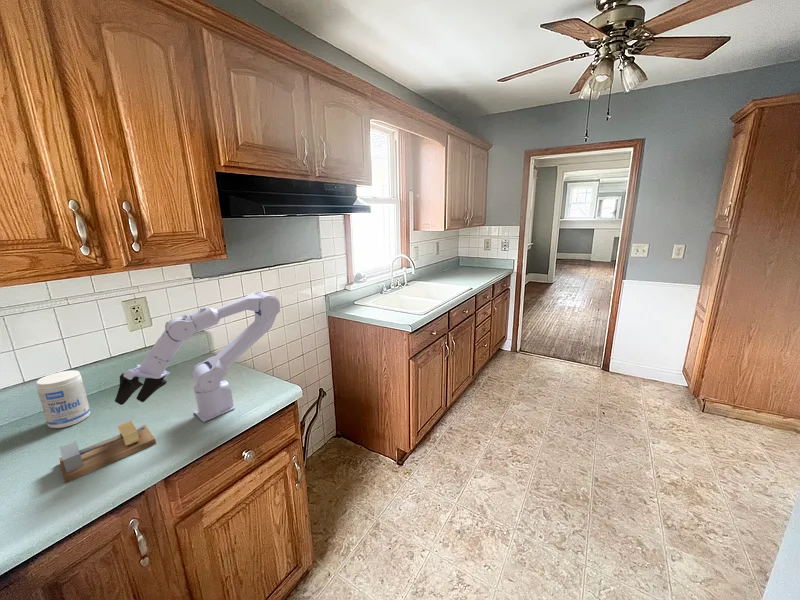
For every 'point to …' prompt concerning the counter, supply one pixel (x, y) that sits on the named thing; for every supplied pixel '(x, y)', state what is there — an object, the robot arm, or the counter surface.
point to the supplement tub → (63, 398)
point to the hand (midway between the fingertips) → (129, 401)
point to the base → (100, 454)
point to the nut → (128, 433)
